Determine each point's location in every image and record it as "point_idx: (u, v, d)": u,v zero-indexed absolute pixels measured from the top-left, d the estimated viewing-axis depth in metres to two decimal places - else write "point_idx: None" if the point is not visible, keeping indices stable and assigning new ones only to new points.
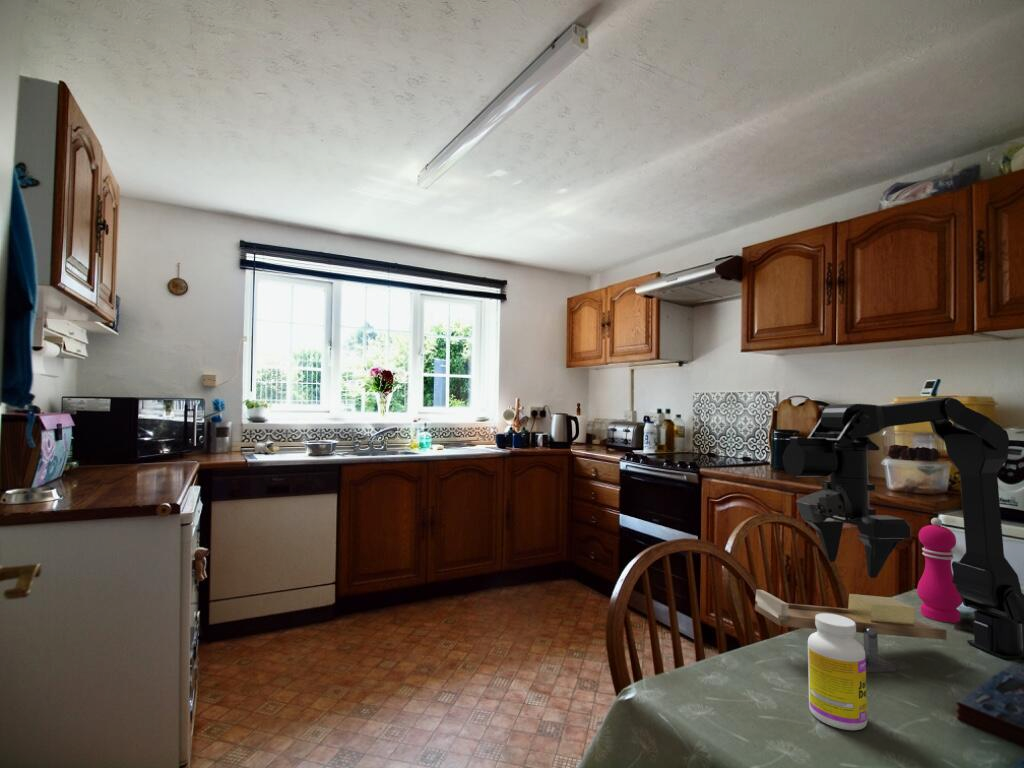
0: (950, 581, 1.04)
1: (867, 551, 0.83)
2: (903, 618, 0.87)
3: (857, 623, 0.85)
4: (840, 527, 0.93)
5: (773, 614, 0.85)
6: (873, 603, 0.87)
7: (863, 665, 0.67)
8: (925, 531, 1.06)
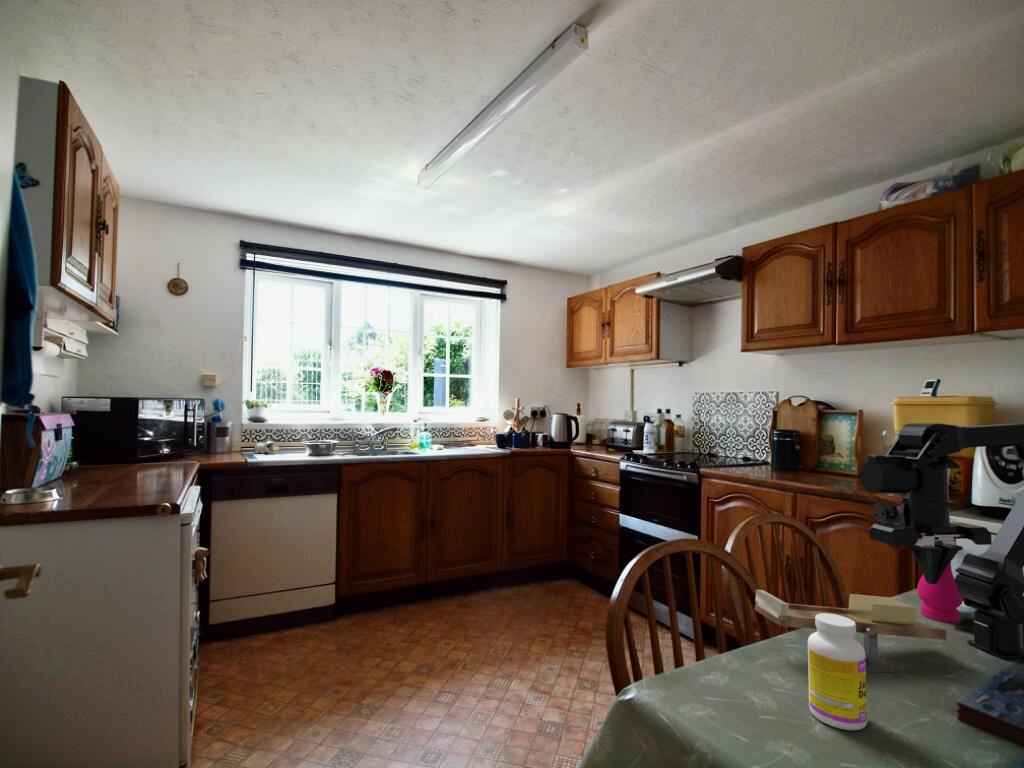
0: (950, 581, 1.04)
1: None
2: (903, 619, 0.87)
3: (857, 623, 0.85)
4: (945, 552, 0.89)
5: (773, 614, 0.85)
6: (873, 603, 0.87)
7: (863, 665, 0.67)
8: None
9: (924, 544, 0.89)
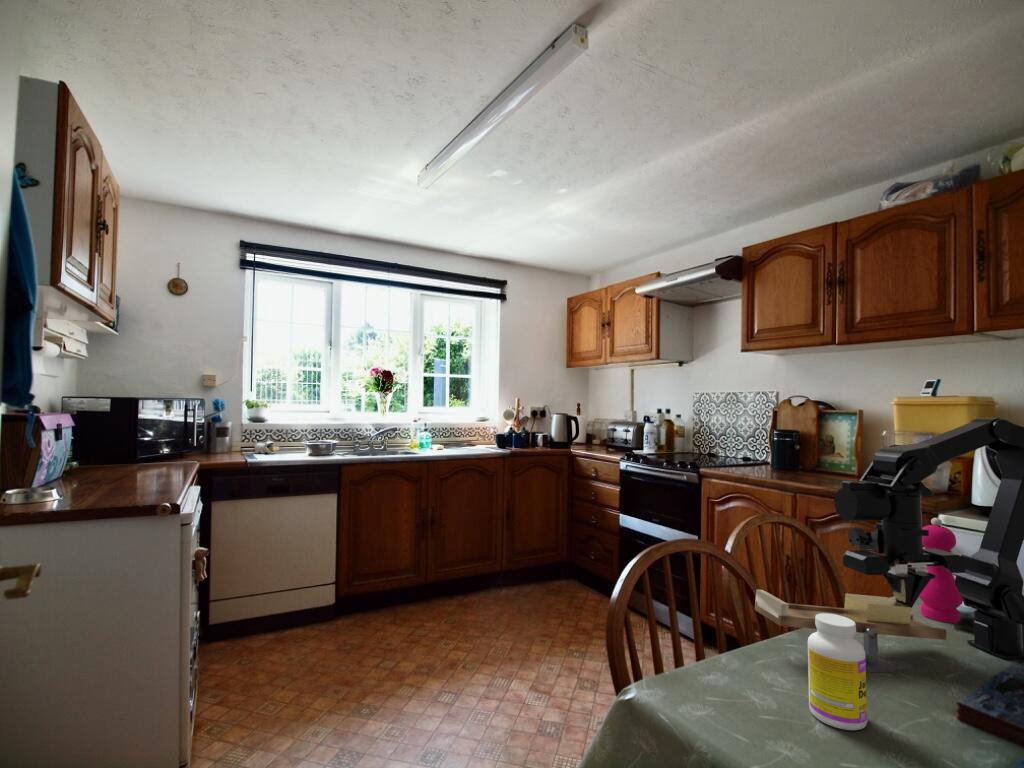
0: (950, 581, 1.04)
1: None
2: (899, 618, 0.87)
3: (857, 623, 0.85)
4: (917, 580, 0.88)
5: (773, 614, 0.85)
6: (869, 603, 0.87)
7: (863, 665, 0.67)
8: None
9: (897, 572, 0.88)
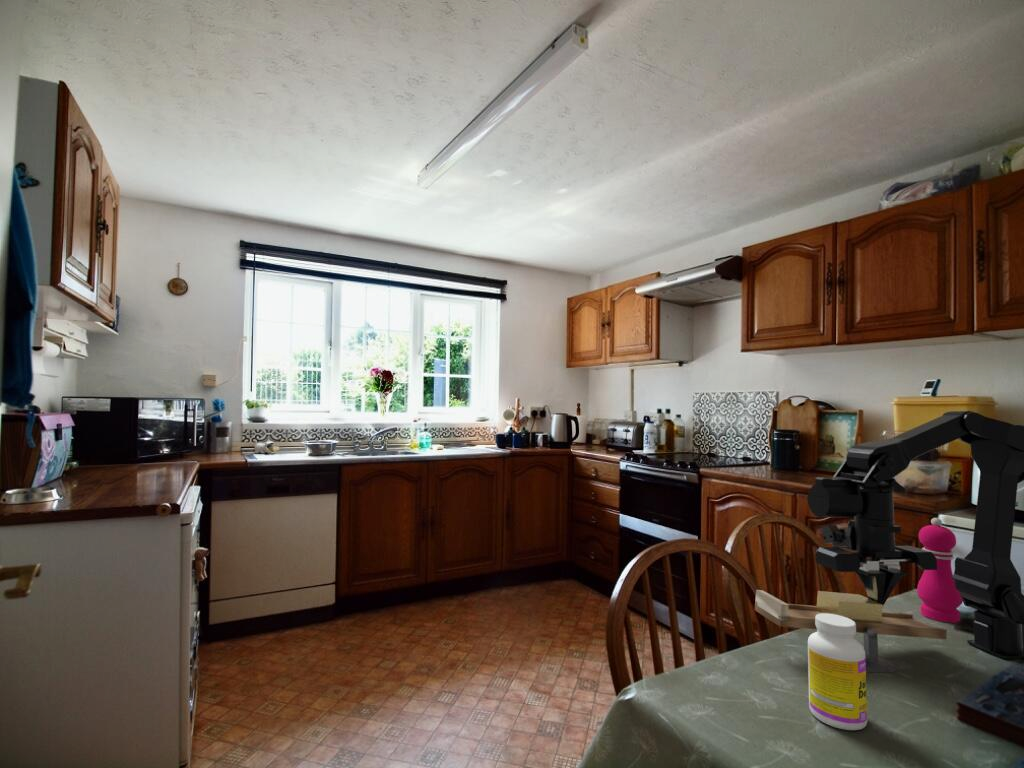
0: (950, 581, 1.04)
1: None
2: (870, 616, 0.86)
3: (857, 623, 0.85)
4: (889, 577, 0.87)
5: (773, 614, 0.85)
6: (840, 600, 0.86)
7: (863, 665, 0.67)
8: (925, 531, 1.06)
9: (868, 569, 0.87)
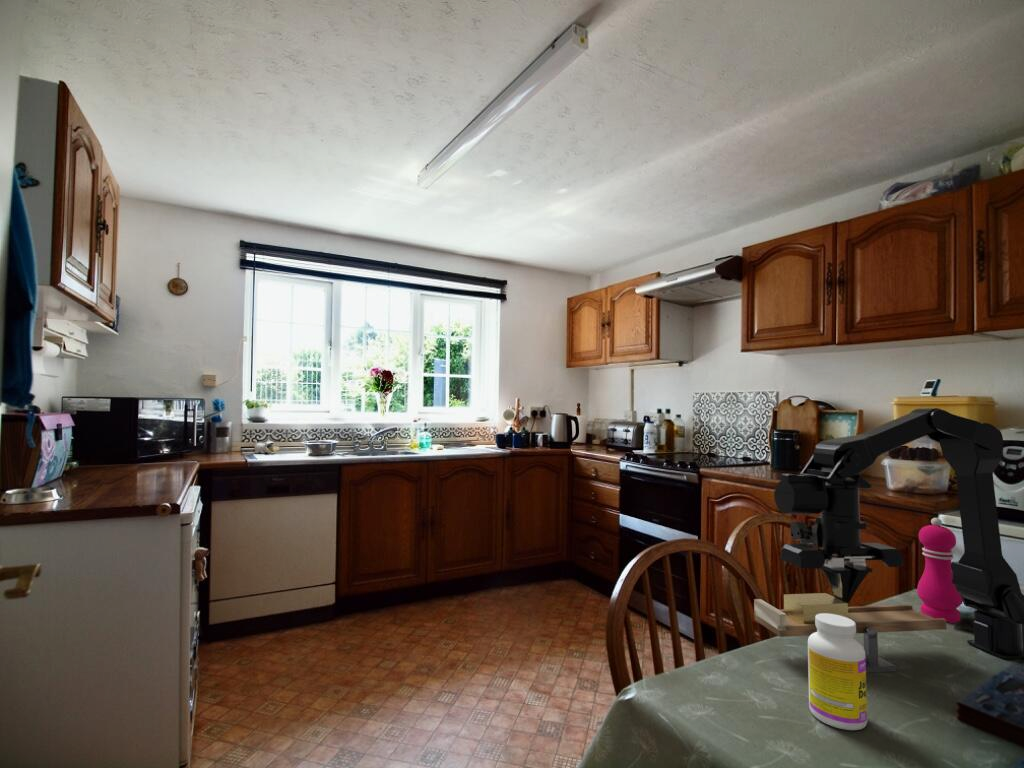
0: (950, 581, 1.04)
1: None
2: None
3: (856, 624, 0.85)
4: (854, 574, 0.87)
5: (772, 625, 0.85)
6: (804, 604, 0.85)
7: (863, 665, 0.67)
8: (925, 531, 1.06)
9: (833, 566, 0.86)
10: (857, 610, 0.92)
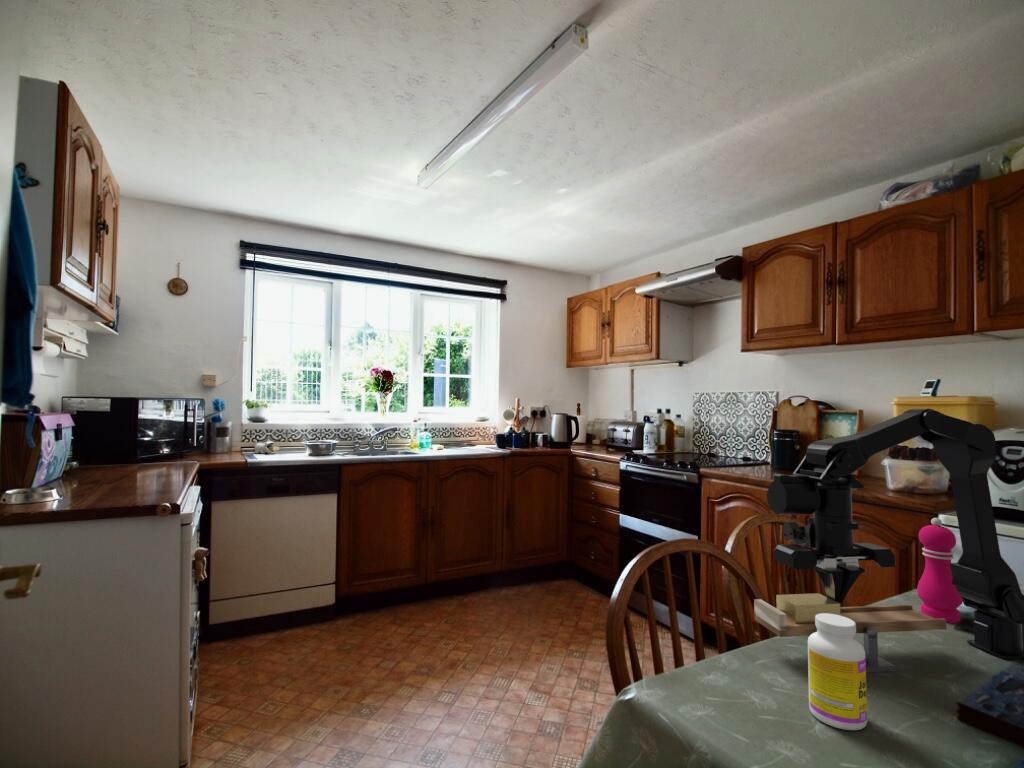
0: (950, 581, 1.04)
1: None
2: None
3: (856, 624, 0.85)
4: (847, 575, 0.86)
5: (772, 625, 0.85)
6: (797, 604, 0.85)
7: (863, 665, 0.67)
8: (925, 531, 1.06)
9: (825, 566, 0.86)
10: (857, 610, 0.92)
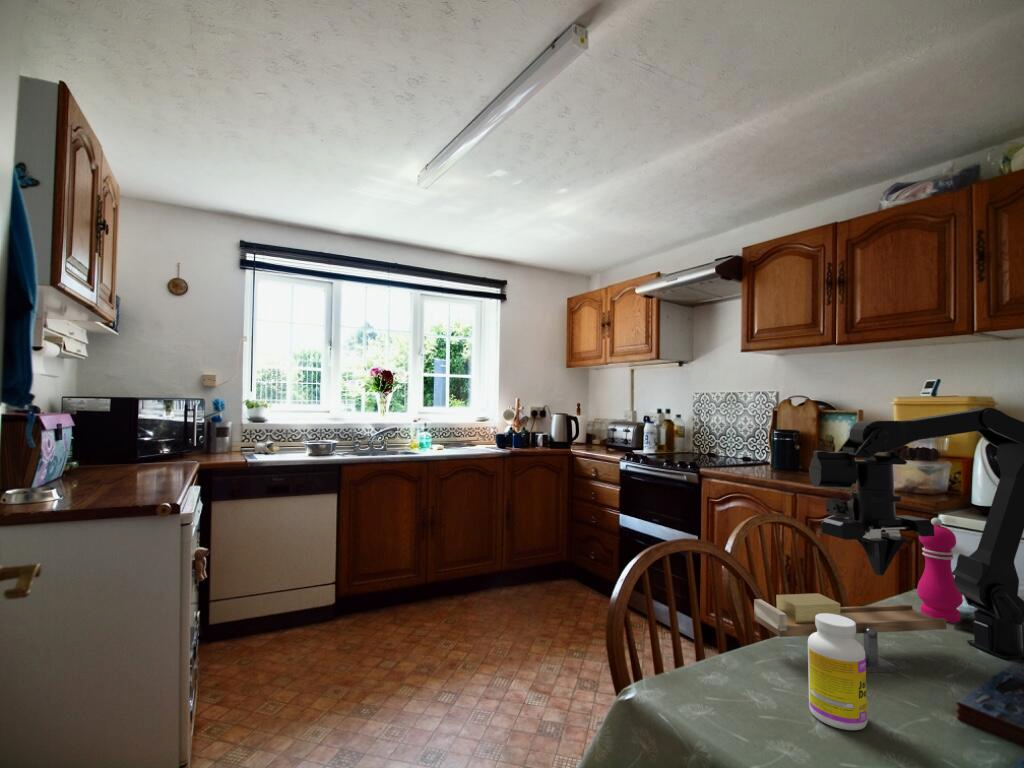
0: (950, 581, 1.04)
1: None
2: None
3: (856, 624, 0.85)
4: (891, 544, 0.93)
5: (772, 625, 0.85)
6: (797, 604, 0.85)
7: (863, 665, 0.67)
8: None
9: (871, 537, 0.92)
10: (857, 610, 0.92)
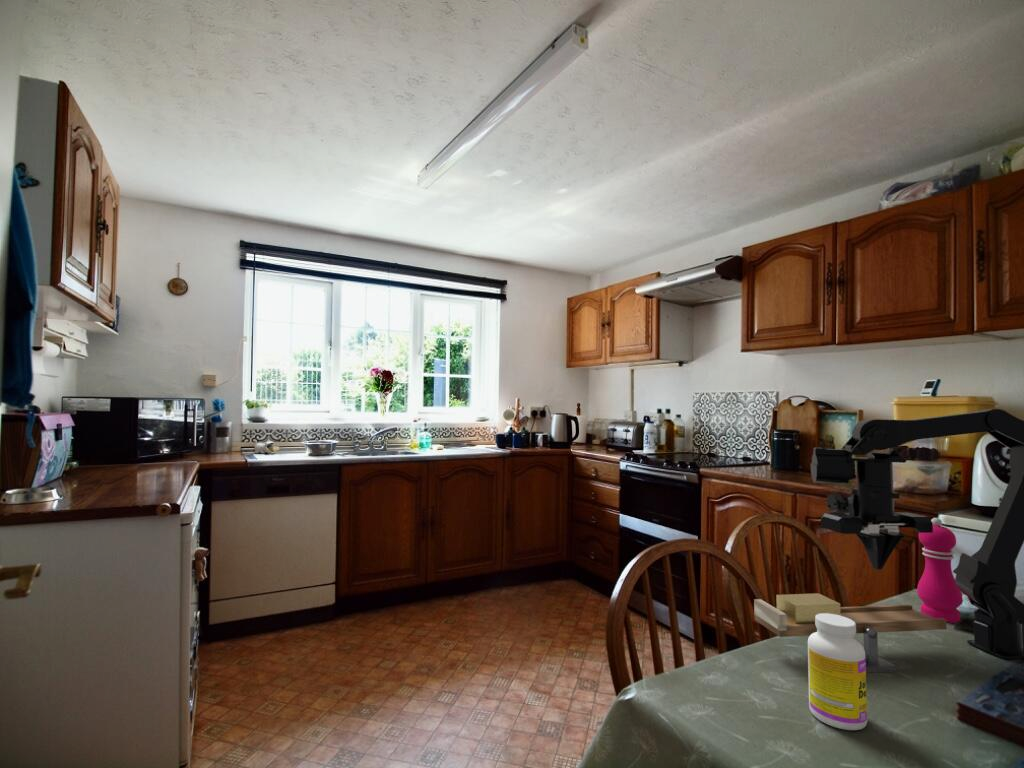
0: (950, 581, 1.04)
1: None
2: None
3: (856, 624, 0.85)
4: (889, 539, 0.95)
5: (772, 625, 0.85)
6: (797, 604, 0.85)
7: (863, 665, 0.67)
8: None
9: (869, 532, 0.95)
10: (857, 610, 0.92)
